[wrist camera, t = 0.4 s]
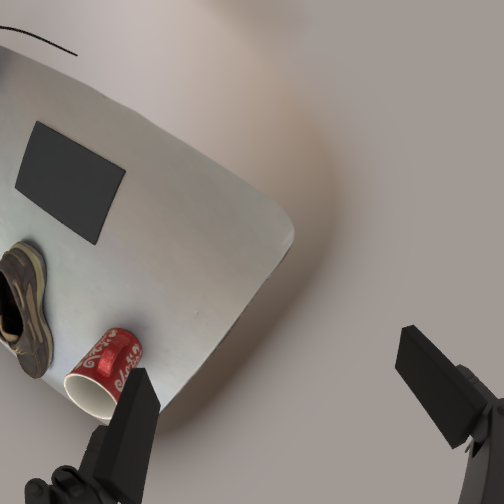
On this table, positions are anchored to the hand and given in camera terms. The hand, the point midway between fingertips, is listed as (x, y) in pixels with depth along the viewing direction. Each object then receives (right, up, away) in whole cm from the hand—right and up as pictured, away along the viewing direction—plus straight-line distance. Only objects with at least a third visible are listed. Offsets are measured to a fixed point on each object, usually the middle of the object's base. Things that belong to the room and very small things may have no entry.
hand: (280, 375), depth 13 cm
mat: (-30, +17, +23) cm, 41 cm away
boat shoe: (-44, -5, +30) cm, 53 cm away
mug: (-22, -8, +30) cm, 39 cm away
